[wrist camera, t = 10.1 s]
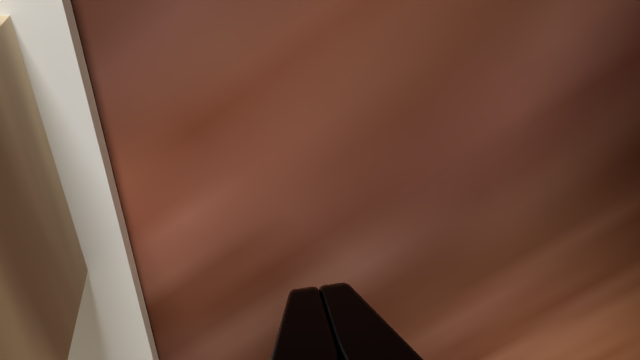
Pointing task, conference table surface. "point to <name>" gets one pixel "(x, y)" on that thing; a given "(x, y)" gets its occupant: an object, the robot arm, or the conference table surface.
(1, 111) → the maple block
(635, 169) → the conference table surface
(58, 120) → the mat
